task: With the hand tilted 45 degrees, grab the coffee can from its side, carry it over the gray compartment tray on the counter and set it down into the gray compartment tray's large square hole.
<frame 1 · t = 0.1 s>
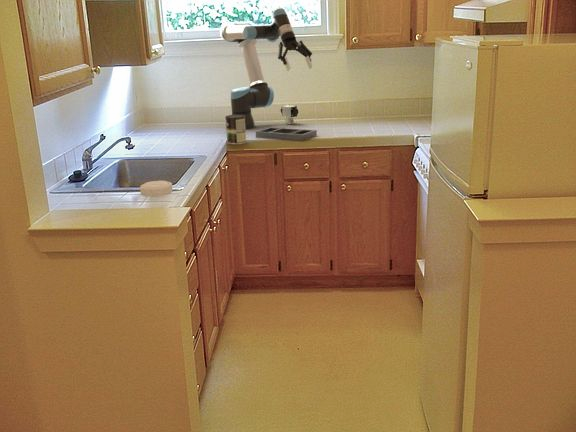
hand: (300, 68, 326), 36 cm above the countertop, tool tilted 35°, fingers open, 13 cm apart
gray compartment tray: (286, 136, 334), on the countertop
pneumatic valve: (290, 124, 375), on the countertop
coffee can: (236, 142, 323), on the countertop
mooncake: (156, 193, 233), on the countertop
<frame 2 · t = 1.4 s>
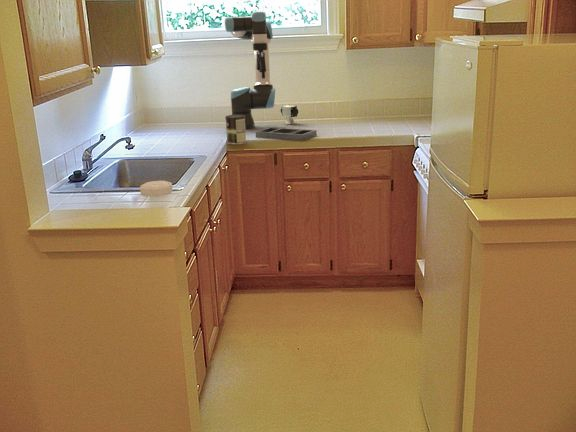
hand: (261, 83, 328), 29 cm above the countertop, tool pointing down, fingers open, 13 cm apart
nothing on the countertop moved.
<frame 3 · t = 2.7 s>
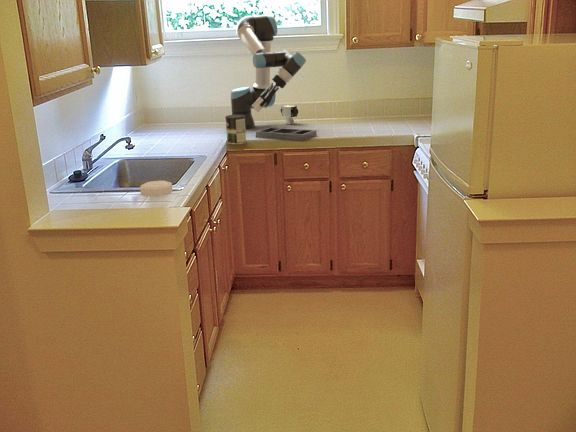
hand: (254, 109, 319), 17 cm above the countertop, tool tilted 45°, fingers open, 13 cm apart
nothing on the countertop moved.
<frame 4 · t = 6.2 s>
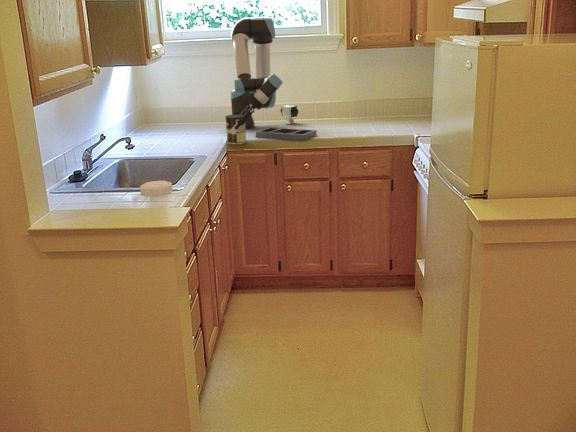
hand: (230, 131, 321), 6 cm above the countertop, tool tilted 45°, fingers closed on coffee can, 10 cm apart
coffee can: (236, 142, 323), on the countertop, touching gripper
everything else where it was.
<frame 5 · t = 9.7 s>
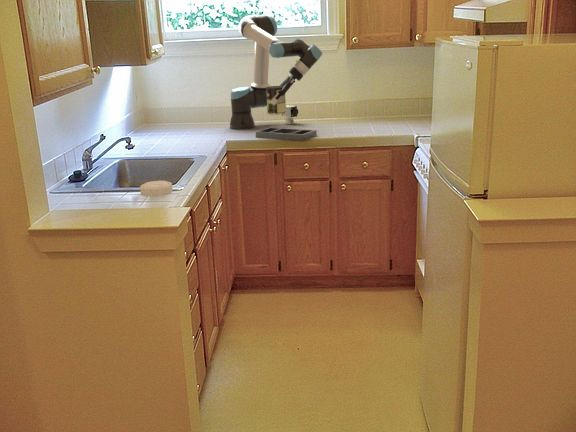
hand: (270, 102, 326), 19 cm above the countertop, tool tilted 45°, fingers closed on coffee can, 10 cm apart
coffee can: (276, 113, 328), point 13 cm above the countertop, touching gripper
everything else where it was.
when the fingers open (7 cm above the countertop, at t = 12.9 s): coffee can drops 1 cm, resting in gray compartment tray.
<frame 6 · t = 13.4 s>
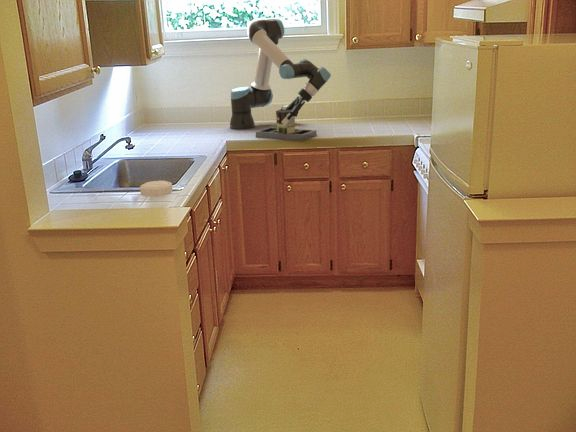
hand: (281, 121, 331), 8 cm above the countertop, tool tilted 45°, fingers open, 13 cm apart
coffee can: (286, 136, 334), resting in gray compartment tray
everything else where it was.
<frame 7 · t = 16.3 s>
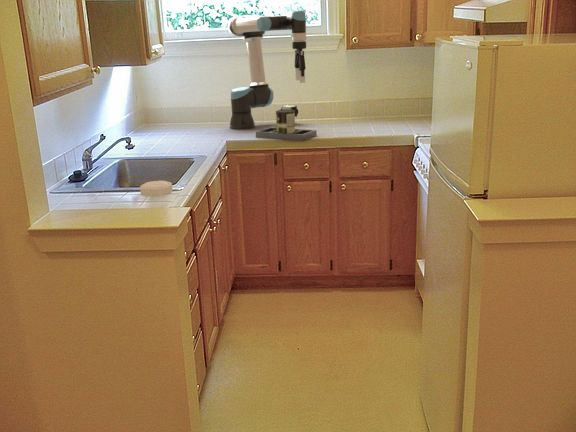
hand: (300, 81, 334), 28 cm above the countertop, tool pointing down, fingers open, 13 cm apart
nothing on the countertop moved.
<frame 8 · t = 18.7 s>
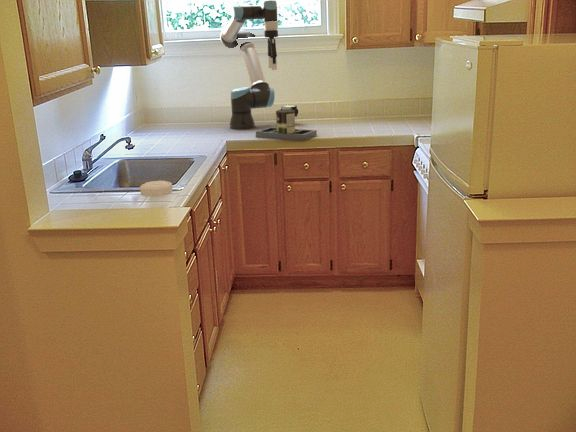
hand: (272, 69, 345), 35 cm above the countertop, tool pointing down, fingers open, 13 cm apart
nothing on the countertop moved.
at the end: coffee can 0.1 cm off-centre on the gray compartment tray, point 0.0 cm above the gray compartment tray's base; coffee can tilted 0°; the gripper is holding nothing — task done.
